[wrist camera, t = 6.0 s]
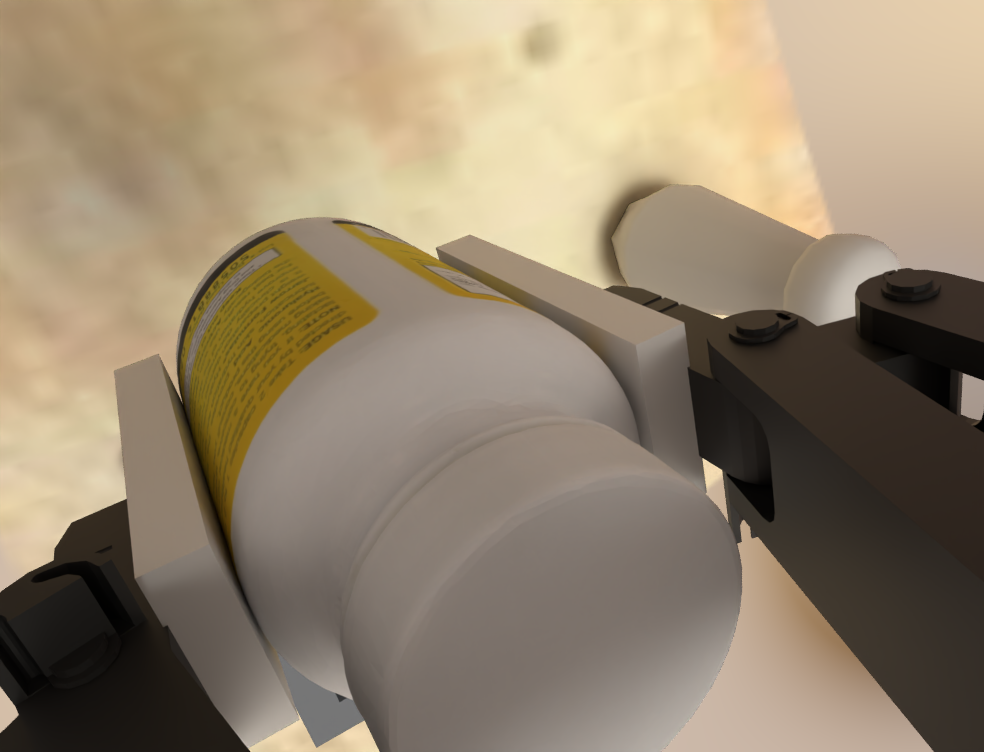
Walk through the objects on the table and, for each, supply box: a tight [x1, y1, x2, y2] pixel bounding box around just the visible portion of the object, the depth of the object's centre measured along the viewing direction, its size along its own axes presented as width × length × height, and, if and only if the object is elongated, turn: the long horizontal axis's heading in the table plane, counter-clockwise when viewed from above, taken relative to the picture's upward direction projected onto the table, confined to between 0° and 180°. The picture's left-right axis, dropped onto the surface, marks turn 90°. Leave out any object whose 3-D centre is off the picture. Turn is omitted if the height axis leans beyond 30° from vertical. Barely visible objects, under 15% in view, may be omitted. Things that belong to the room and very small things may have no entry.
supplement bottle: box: [176, 217, 742, 752], centre depth 11 cm, size 5×5×10 cm
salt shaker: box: [611, 185, 901, 326], centre depth 32 cm, size 6×6×13 cm
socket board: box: [277, 652, 364, 748], centre depth 33 cm, size 14×14×6 cm
